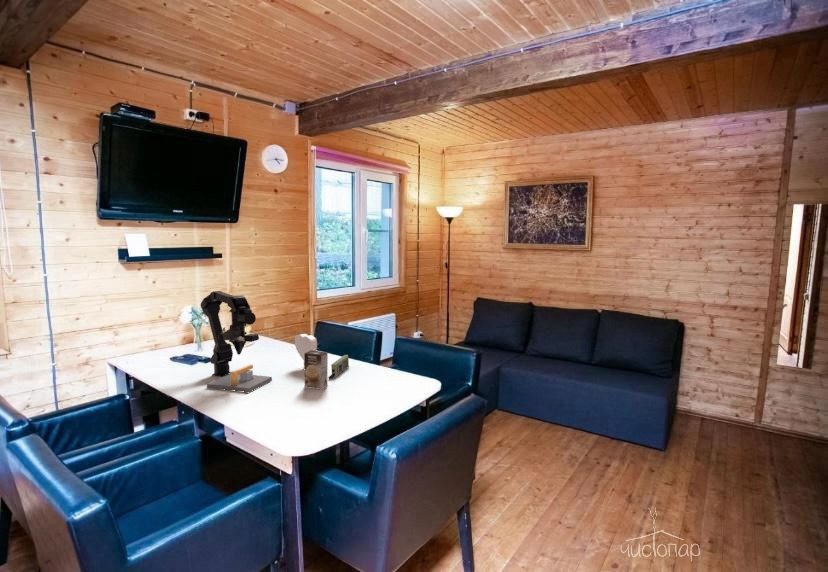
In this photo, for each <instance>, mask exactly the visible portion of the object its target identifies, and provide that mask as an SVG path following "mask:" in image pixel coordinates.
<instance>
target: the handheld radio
mask: <svg viewBox="0 0 828 572" xmlns="http://www.w3.org/2000/svg"><path fill="white" fill-rule="evenodd" d="M349 362H350V361H349V355H348V354H344V355H342V356H341V357H340V358H338V359H337V360H335V361H334V362H333V363H332V364H330V365H331V375H329V376H327V379H328V380H331V379H333V376H336V377H337V375H338V376H339V375H341V374H342V371H343V372H344V371H345V370H347V369H348V368H349V367H350V365H349Z"/></svg>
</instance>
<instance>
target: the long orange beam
mask: <svg viewBox="0 0 828 572" xmlns="http://www.w3.org/2000/svg"><path fill="white" fill-rule="evenodd" d="M252 369H254V364H248V365H246V366H244V367H240V368H238V369H236V370H233V371H230V372H231V373H230V374H231V385H237V375H238V374H241V373H243V372H245V371H248V370H252Z"/></svg>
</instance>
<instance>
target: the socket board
mask: <svg viewBox="0 0 828 572" xmlns="http://www.w3.org/2000/svg"><path fill="white" fill-rule="evenodd" d="M270 381H271V382H272V381H273V377H272V376H267V375H266V376H265V375H257V374H253V379H252V380H250V381H240V374H238V375H237V385H231V373H230V374H227V375H225V376H221V377H220V378H218V379H214V380H213V381H212V380H211V382H208V383H206V389H210V388H216V389H215V390H219V389H225V390H224V391H228V390H235V391H234V392H237V391H244V392H243V393H246V392H249V393H251V392H253V391H255V390H257V389H259V388H261V387H263V386H265V385H266V383H267V384H269V383H271V382H270ZM268 382H269V383H268ZM264 384H265V385H264ZM262 385H263V386H262ZM260 386H261V387H260ZM258 387H259V388H258ZM256 388H257V389H256ZM254 389H255V390H254ZM252 390H253V391H252ZM250 391H251V392H250Z"/></svg>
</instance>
